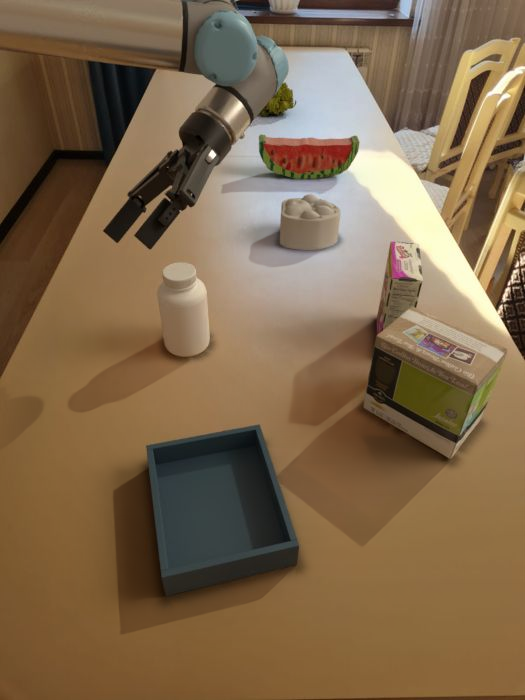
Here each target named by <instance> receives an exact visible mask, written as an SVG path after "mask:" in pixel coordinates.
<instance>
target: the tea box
mask: <svg viewBox="0 0 525 700" xmlns="http://www.w3.org/2000/svg"><path fill="white" fill-rule="evenodd" d="M508 350H509V349H508V348H506V347H504V346H502V345H500V344H497V343H496V342H493V341H491V340H488V339H486V338H485V337H482V336H480V335H477V334H475V333H473V332H470V331H468V330H467V329H464V328H462V327H459V326H457V325H455V324H453V323H451V322H448V321H446V320H444V319H442V318H439V317H437V316H435V315H432V314H430V313H428V312H426V311H423V310H421V309H418V308H417V307H416V308H415V307H412V306H411V307H410V308H409V309H408V310H406V311H405V312H404V313H403V314H402V315H401V316H399V317H398V318H397V319H396V320H395V321H394V322H392V323H391V324H390V325H389V326H388V327H386V328H385V329H384V330H383V331H382V332H381V333H379V334H378V335H377V334H376V336H375V342H374V346H373V352H372V357H371V363H370V368H369V373H368V379H367V384H366V390H365V394H364V401H363V409H365V410H366V411H367V412H370V413H371V414H373V415H374V416H377V417H378V418H380V419H382V420H384V421H385V422H386V423H388V424H390V425H392V426H393V427H395V428H397V429H398V430H400V431H403V432H404V433H406V434H407V435H409V436H410V437H412V438H413V439H415V440H417V441H419V442H420V443H422V444H424V445H426V446H427V447H429V448H431V449H432V450H434V451H436V452H437V453H439V454H441V455H442V456H444V457H446V458H448V459H450V460H451V459H453V457H454V456H455V454H456V453H457V452H458V450H459V448H461V446H462V445H463V443H464V442H465V441H466V439H467V438H468V437H469V435H470V434H471V433H472V432H473V430H475V428H476V427H477V425H478V424H479V423H480V421H481V419H482V416H483V415H484V412H485V410H486V408H487V405H488V403H489V401H490V398H491V396H492V393H493V390H494V387H495V385H496V382H497V380H498V377H499V374H500V373H501V369H502V367H503V364H504V362H505V360H506V357H507V354H508Z"/></svg>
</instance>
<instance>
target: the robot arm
mask: <svg viewBox="0 0 525 700" xmlns="http://www.w3.org/2000/svg"><path fill="white" fill-rule="evenodd" d="M0 51H5V52H14V53H22V54H31V55H38V56H46V57H55V58H63V59H72V60H78V61H79V60H80V61H87V62H95V63H104V64H112V65H113V64H114V65H119V66H120V65H121V66H128V67H129V66H130V67H137V68H146V69H153V70H154V69H155V70H162V71H169V72H178V73H184V74H191V75H199V76H203V78H205V79H206V80H208V81H210V82H212V83H214V85H213V86H212V88H211V89H210V90H209V91H208V92H207V93H206V95H205V96H204V97H203V98H202V99H201V101H200V102H199V103H198V105H197V106H196V107H195V109H194V111H193V112H191V113H190V115H189V116H188V117H187V118H186V120H185V121H184V122H183V123H182V125H181V126H180V127H179V129H178V137H179V139H180V142H181V145H182V147H181V148H180V149H175V150H173V151H172V150H170V151H168V152H167V153H166V155H165V156H164V157H163V158H162V159H161V160H160V161H159V162H158V163H157V164H156V165H155V166H154V167H153V168H152V169H151V170H150V171H149V172H148V173H147V174H146V175H145V176H144V177H143V178H141V180H139V182H138V183H136V184H135V186H133V188H132V189H130V190H129V191H128V192H127V194H126V196H127V197H128V199H127V201H126V202H125V203H124V204H123V205H122V206H121V208H120V209H119V210H118V211H117V212H116V214H115V215H114V216H113V218H112V219H111V220H110V221H109V222H108V224H107V225H106V226H105V228H104V229H103V230H102V232H103V233H104V234H105V235H107V236H108V237H109V238H110V239H111V240H112V241H114V242H115V243H116V244H119V243H120V242H121V240H123V238H124V236H125V235H126V234H127V232H129V230H130V229H131V228H132V226H133V225H134V224H135V223H136V221H137V220H138V219H139V218H140V217H141V215H142V214H145V213H146V212H147V209H148V208H147V206H148V205H149V204H150V203H151V202H152V201H154V200H155V199H156V198H158V197H159V195H161V194H162V193H163V192H164V193H163V194H164V195H165V196H166V197H163V198H162V200H161V201H160V202H159V203H158V204H157V205H156V207H155V208H154V210H153V211H152V212H151V213H150V214H149V216H148V217H147V218H146V220H145V221H144V222H143V223H142V225H141V226H140V227H139V228H138V230H137V231H136V232H135V233H134V235H133V236H134V237H135V238H136V239H137V240H138V241H139V242H140V243H141V244H142V245H143V246H144V247H146V248H147V249H148V250H152V249H153V248H154V247H155V245H156V244H157V243H158V242H159V240H160V239H161V238H162V236H163V235H164V233H166V232H167V230H168V229H169V228H170V226H171V225H172V224H173V222H175V220H176V219H177V217H178V216H179V215H180V214H181V212H184V211H185V210H186V209H187V208H191V209H192V208H194V207H195V206H196V204H197V202H198V200H199V198H200V196H201V194H202V192H203V190H204V188H205V186H206V184H207V182H208V180H209V179H210V175H211V173H212V172H213V170H214V168H215V167H218V166H219V165H220V164H221V163H222V162H223V160H224V159H225V158H226V157H227V156H228V154H229V153H230V152H231V150H232V148H233V146H235V144H236V143H237V142H238V141H239V140H243V139H244V138H245V132H246V130H248V128H249V127H250V126H251V124H252V123H253V121H255V119H256V118H257V116H258V115H259V114H260V112H261V110H262V109H263V108H264V107H265V106H266V104H267V103H268V102H269V101H270V100H271V98H273V97H274V96H275V95H276V93H277V91H278V89H279V88H280V86H281V85H282V84H283V83H285V80H286V79H287V77H288V75H289V69H290V68H289V67H290V66H289V60H288V57H287V55H286V53H285V51H284V50H283V49H282V47H281V46H278V45H277V44H276V42H275V41H274V40H273V39H272V38H271V37H268V36H265V35H257V36H256V34H255V32H254V29H253V27H252V25H251V23H250V21H249V20H248V19H247V18H246V17H245V16H244V15H243V14H241V12H239V10H237V8H236V7H235V6H234V5H233V3H232V2H231V1H230V0H0ZM170 187H171V188H170ZM168 188H170V189H168ZM166 190H167V191H166Z"/></svg>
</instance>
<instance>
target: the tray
mask: <svg viewBox="0 0 525 700" xmlns="http://www.w3.org/2000/svg"><path fill="white" fill-rule="evenodd" d="M145 449H146V456H147V457H146V458H147V466H148V473H149V475H148V476H149V482H150V491H151V499H152V509H153V517H154V526H155V533H156V534H155V536H156V541H157V542H156V543H157V551H158V559H159V568H160V577H161V582H162V586H163V590H164V594H165V597H168V596H173V595H177V594H182V593H186V592H190V591H194V590H197V589H201V588H207V587H210V586H214V585H218V584H223V583H227V582H230V581H235V580H239V579H243V578H248V577H252V576H256V575H260V574H264V573H268V572H272V571H276V570H281V569H285V568H289V567H293V566H297V565H298V562H299V561H298V560H299V552H300V543H299V540H298V537H297V534H296V530H295V527H294V525H293V521H292V518H291V515H290V512H289V509H288V506H287V504H286V500H285V497H284V494H283V491H282V489H281V484H280V482H279V479H278V476H277V472H276V470H275V466H274V464H273V460H272V458H271V455H270V452H269V448H268V445H267V441H266V439H265V436H264V433H263V429H262V426H261V424H259V423H258V424H254V425H249V426H248V425H247V426H243V427H238V428H232V429H226V430H221V431H216V432H211V433H205V434H199V435H195V436H189V437H183V438H179V439H173V440H166V441H162V442H157V443H151V444H147V445H145Z"/></svg>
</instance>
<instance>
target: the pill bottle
mask: <svg viewBox="0 0 525 700" xmlns="http://www.w3.org/2000/svg"><path fill="white" fill-rule="evenodd" d="M161 276H162V277H161V278H162V282H161V283H160V285H159V286H158V289H157V293H156V296H157V304H158V308H159V309H158V311H159V317H160V321H161V322H160V324H161V330H162V337H163V344H164V347H165V349H166V350H167V351H168V352H169V353H171V354H172V355H174V356H177V357H180V358H181V357H182V358H184V357H185V358H189V357H194V356H197V355H200V354H201V353H203V352H204V351H205V350H206V349H207V348H208V346H209V345H210V340H211V334H210V321H209V320H210V319H209V306H208V292H207V288H206V285H205V283H204V282H203V281H202V280H201V279H199V278H198V276H197V269H196V267H195V266H194V265H193V264H191V263H189V262H180V261H179V262H174V263H173V262H172V263H170V264H168V265H167V266H165V267H164V268H163V269H162V272H161Z"/></svg>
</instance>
